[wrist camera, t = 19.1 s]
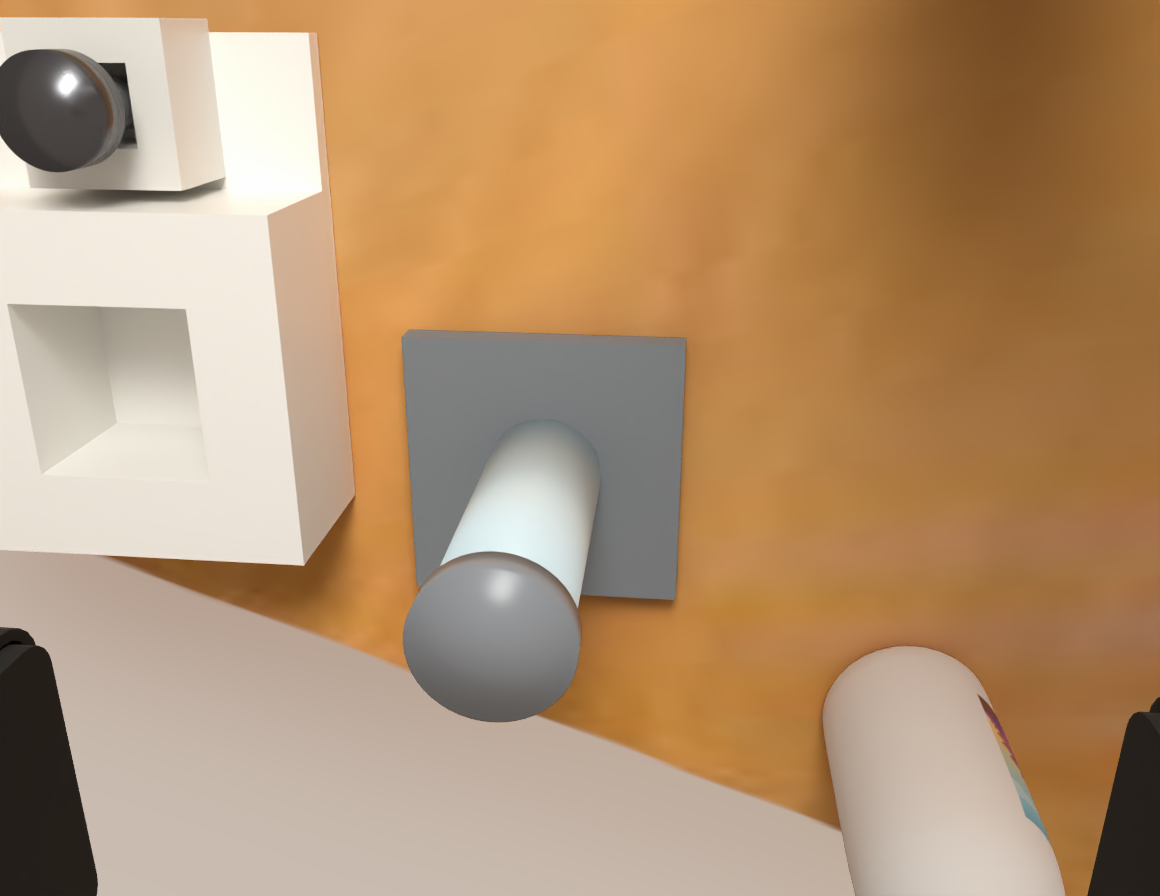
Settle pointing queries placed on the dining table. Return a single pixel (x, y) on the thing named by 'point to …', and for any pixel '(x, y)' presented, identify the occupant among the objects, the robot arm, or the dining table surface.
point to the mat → (563, 394)
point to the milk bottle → (930, 783)
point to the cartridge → (510, 581)
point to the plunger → (62, 109)
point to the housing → (176, 308)
